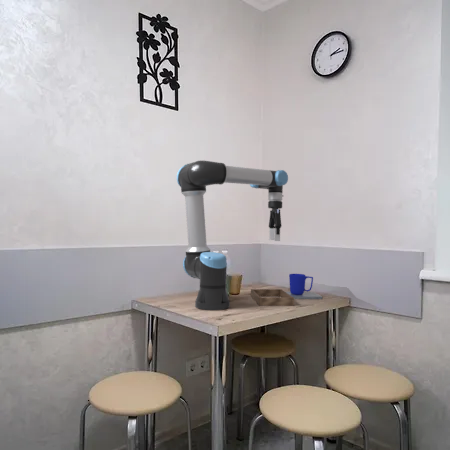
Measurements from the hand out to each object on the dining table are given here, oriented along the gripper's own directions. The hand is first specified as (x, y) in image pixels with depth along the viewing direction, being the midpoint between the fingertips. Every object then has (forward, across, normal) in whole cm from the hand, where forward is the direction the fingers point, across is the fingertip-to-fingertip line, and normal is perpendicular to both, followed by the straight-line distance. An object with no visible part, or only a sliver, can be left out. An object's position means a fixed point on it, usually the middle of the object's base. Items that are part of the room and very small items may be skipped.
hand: (274, 240), depth 193 cm
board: (+28, -7, -13) cm, 32 cm away
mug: (+27, -8, -13) cm, 31 cm away
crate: (+28, -18, +5) cm, 34 cm away
